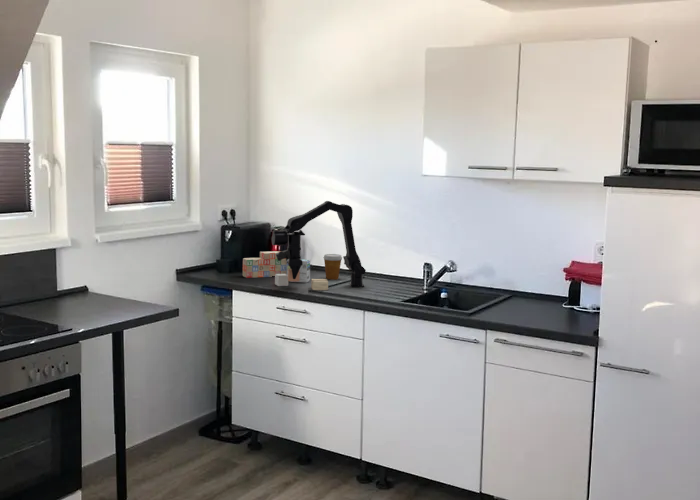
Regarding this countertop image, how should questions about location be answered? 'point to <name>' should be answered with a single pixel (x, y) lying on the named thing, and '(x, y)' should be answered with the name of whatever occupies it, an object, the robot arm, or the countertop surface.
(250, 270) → the stack of blocks
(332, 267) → the disposable coffee cup
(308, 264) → the light bulb box
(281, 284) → the white cube
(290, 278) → the terracotta cube
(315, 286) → the birch block
